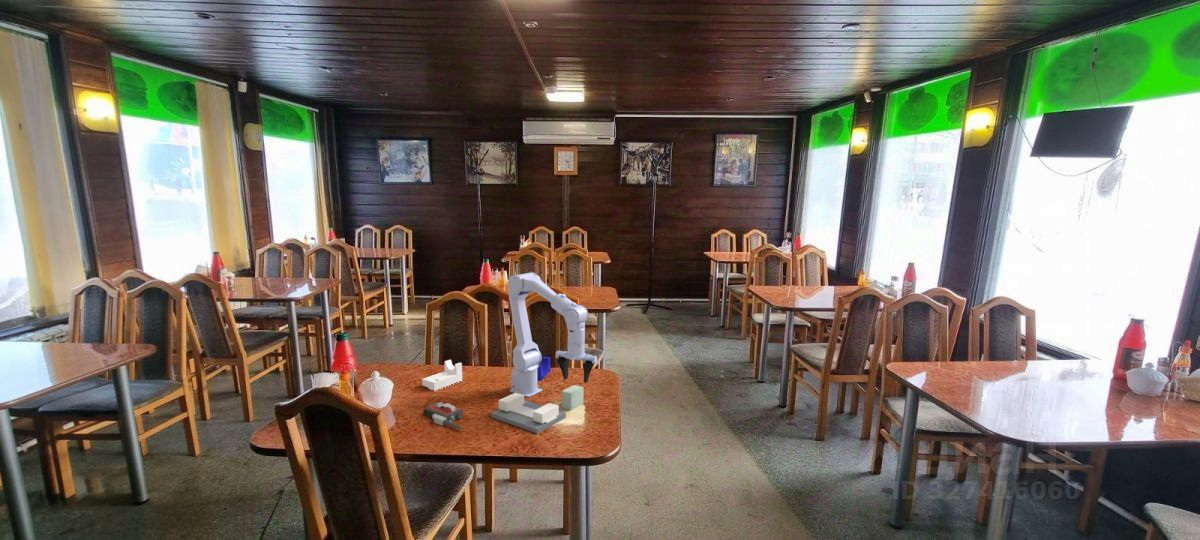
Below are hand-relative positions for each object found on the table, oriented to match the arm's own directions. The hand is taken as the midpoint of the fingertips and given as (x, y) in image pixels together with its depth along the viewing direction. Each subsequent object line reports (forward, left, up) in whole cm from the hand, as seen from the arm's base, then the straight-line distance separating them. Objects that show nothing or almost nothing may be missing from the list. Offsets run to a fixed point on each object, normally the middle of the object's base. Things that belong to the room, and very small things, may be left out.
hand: (575, 380), depth 171 cm
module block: (-1, 0, -10) cm, 10 cm away
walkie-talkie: (-27, -32, -10) cm, 43 cm away
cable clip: (-30, +16, -10) cm, 36 cm away
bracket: (-54, -13, -10) cm, 57 cm away
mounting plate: (-7, -16, -9) cm, 20 cm away
